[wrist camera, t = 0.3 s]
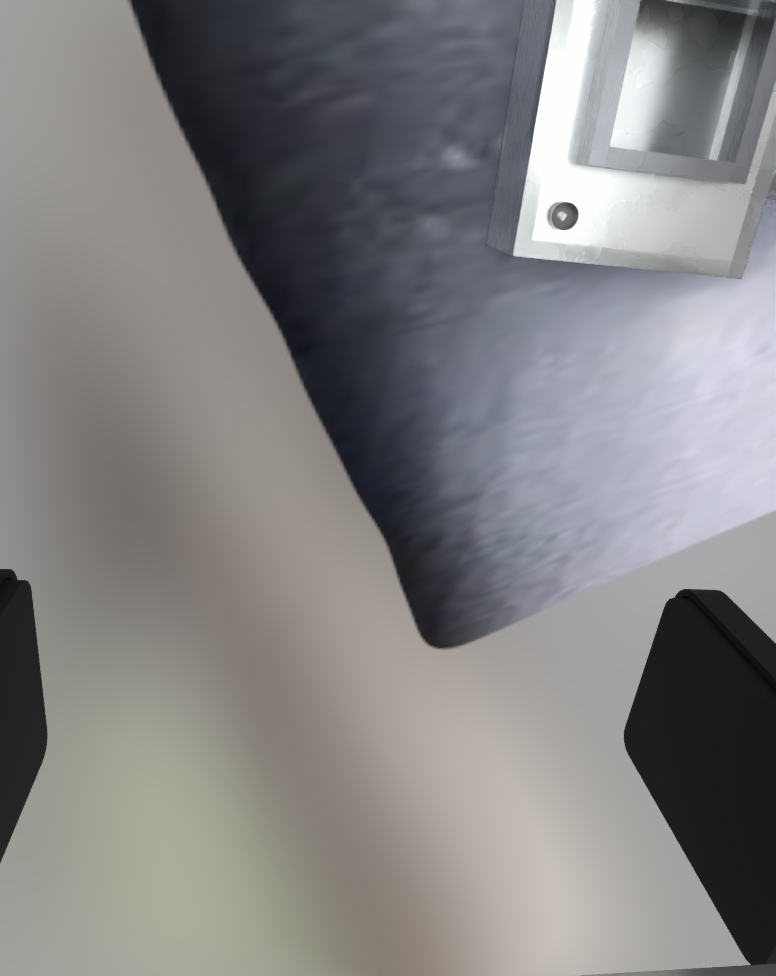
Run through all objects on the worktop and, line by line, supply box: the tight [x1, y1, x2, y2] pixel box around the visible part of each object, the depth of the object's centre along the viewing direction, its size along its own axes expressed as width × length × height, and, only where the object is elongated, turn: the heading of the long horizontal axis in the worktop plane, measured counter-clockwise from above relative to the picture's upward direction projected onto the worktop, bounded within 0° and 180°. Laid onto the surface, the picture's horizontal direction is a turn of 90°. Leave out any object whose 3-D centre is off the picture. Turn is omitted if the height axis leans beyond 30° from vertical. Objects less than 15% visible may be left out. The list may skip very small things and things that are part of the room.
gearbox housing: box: [486, 0, 776, 279], centre depth 33 cm, size 16×14×6 cm
